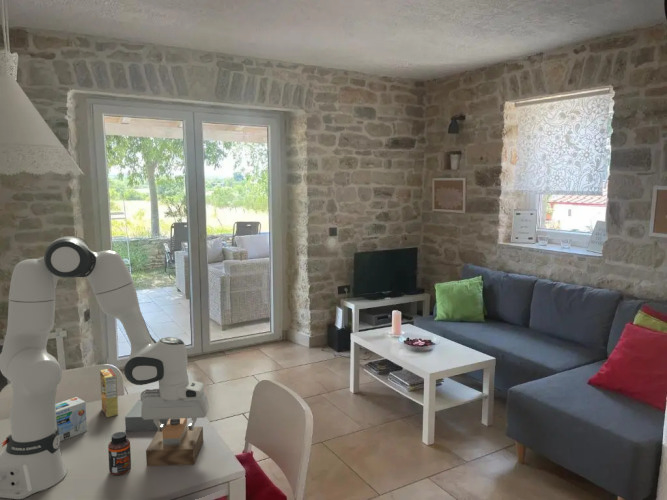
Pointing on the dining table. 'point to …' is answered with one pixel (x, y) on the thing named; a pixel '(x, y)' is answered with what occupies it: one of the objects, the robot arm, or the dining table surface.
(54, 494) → the dining table surface
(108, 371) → the candy box
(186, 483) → the dining table surface
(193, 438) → the stand
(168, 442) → the housing base
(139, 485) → the dining table surface
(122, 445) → the supplement bottle
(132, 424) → the stand
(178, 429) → the cover
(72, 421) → the light bulb box
